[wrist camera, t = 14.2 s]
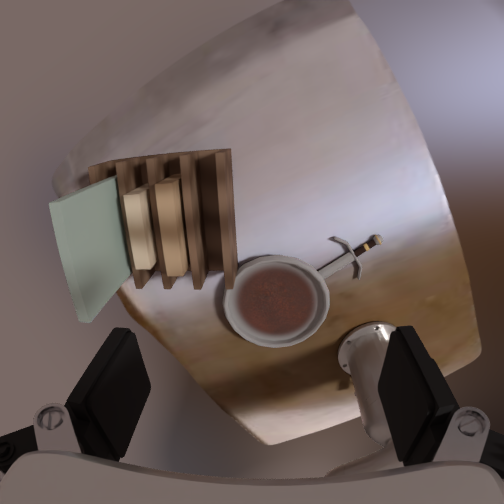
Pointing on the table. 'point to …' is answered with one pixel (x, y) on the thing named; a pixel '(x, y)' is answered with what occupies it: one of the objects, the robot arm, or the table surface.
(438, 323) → the table surface
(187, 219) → the rack
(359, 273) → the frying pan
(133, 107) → the table surface
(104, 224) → the tall sheet
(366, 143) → the table surface
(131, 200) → the offcut light
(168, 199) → the offcut dark
